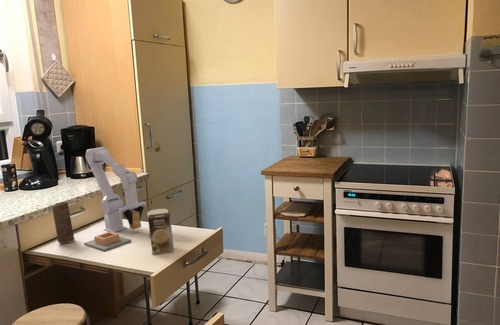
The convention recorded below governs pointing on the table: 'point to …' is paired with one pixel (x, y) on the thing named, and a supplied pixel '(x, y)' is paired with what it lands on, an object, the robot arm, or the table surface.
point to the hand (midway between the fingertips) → (134, 222)
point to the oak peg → (135, 220)
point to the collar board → (107, 241)
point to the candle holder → (157, 211)
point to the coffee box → (161, 233)
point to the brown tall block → (63, 222)
